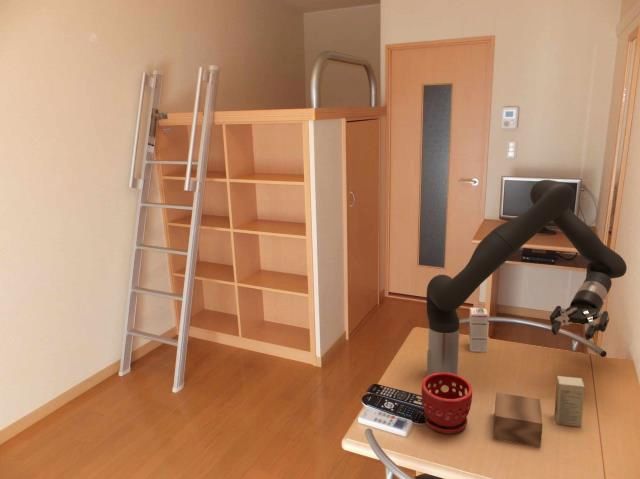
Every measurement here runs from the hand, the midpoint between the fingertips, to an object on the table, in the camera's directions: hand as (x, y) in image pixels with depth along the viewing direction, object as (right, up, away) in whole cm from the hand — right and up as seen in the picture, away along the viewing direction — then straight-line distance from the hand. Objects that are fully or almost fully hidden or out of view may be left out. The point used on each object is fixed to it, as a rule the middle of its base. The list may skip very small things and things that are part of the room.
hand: (570, 334), depth 133 cm
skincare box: (-2, -23, -2) cm, 23 cm away
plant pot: (-35, -24, -1) cm, 42 cm away
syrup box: (-13, -13, +38) cm, 42 cm away
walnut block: (-17, -24, -5) cm, 30 cm away
